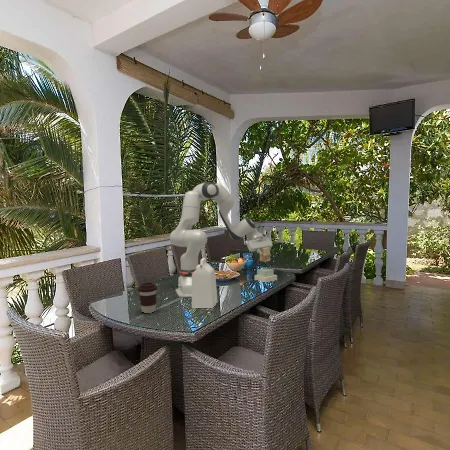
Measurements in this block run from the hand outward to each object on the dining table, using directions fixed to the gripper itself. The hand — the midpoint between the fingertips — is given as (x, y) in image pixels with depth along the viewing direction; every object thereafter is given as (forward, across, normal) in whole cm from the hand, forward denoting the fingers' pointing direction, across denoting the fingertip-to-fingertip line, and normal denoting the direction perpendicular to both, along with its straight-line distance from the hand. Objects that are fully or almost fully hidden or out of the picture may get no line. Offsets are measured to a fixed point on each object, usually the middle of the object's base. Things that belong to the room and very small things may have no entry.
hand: (265, 253), depth 244 cm
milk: (+24, -62, +2) cm, 67 cm away
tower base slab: (+13, 0, +14) cm, 19 cm away
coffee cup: (+16, -90, +10) cm, 92 cm away
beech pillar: (+3, 0, +4) cm, 5 cm away
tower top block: (+10, 0, +11) cm, 15 cm away
